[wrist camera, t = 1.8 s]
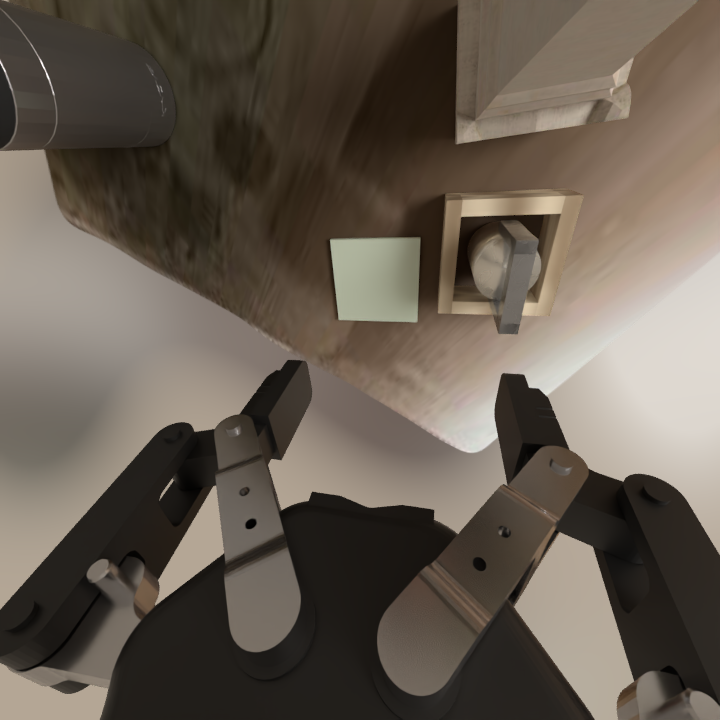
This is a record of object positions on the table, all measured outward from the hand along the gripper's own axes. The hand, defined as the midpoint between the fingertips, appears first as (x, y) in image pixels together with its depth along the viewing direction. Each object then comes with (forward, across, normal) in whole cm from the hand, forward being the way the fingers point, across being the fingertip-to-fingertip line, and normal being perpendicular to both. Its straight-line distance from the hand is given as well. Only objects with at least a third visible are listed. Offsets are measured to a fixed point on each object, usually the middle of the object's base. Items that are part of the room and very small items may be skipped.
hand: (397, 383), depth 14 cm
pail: (+30, -8, +3) cm, 31 cm away
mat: (+30, +6, +7) cm, 31 cm away
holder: (+30, -8, +3) cm, 31 cm away
